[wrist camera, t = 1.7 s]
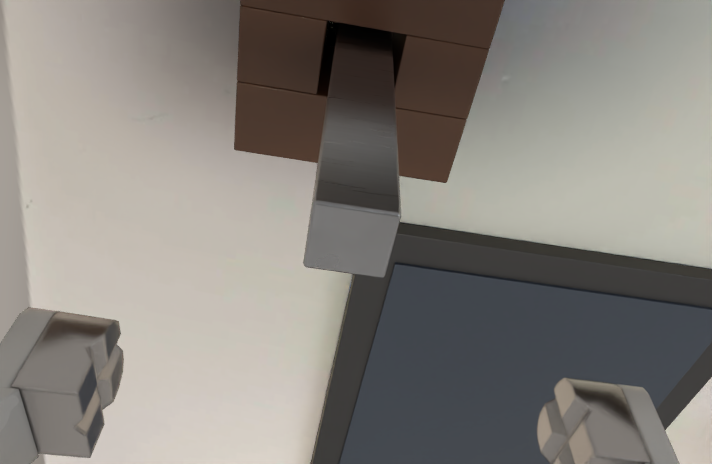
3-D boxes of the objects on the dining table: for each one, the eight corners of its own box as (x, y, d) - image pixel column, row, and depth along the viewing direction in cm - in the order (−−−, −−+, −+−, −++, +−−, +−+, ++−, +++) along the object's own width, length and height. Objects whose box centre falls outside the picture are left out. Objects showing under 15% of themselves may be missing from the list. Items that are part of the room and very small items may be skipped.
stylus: (343, -10, 25) (312, 201, 13) (390, -2, 25) (402, 215, 13) (336, 36, 26) (302, 268, 14) (381, 44, 26) (384, 279, 14)
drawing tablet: (365, 217, 32) (365, 231, 31) (777, 278, 34) (789, 293, 33) (292, 543, 57) (291, 556, 56) (533, 568, 59) (535, 581, 58)
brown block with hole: (267, -119, 22) (243, -92, 18) (494, -75, 23) (517, -40, 19) (253, 95, 28) (233, 150, 24) (437, 125, 28) (446, 183, 25)
